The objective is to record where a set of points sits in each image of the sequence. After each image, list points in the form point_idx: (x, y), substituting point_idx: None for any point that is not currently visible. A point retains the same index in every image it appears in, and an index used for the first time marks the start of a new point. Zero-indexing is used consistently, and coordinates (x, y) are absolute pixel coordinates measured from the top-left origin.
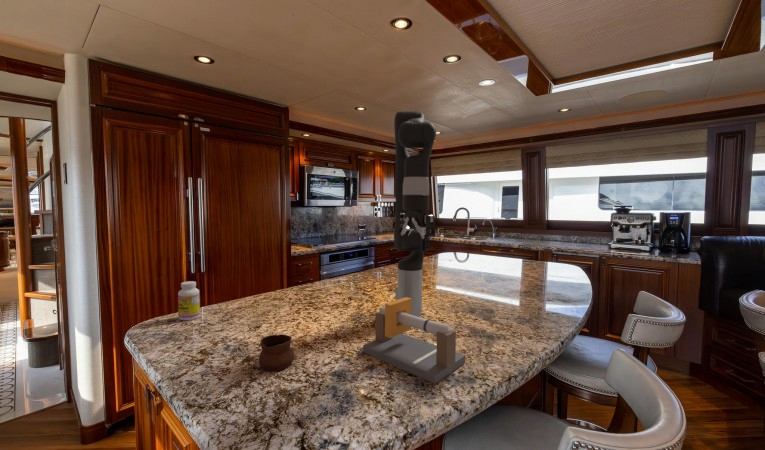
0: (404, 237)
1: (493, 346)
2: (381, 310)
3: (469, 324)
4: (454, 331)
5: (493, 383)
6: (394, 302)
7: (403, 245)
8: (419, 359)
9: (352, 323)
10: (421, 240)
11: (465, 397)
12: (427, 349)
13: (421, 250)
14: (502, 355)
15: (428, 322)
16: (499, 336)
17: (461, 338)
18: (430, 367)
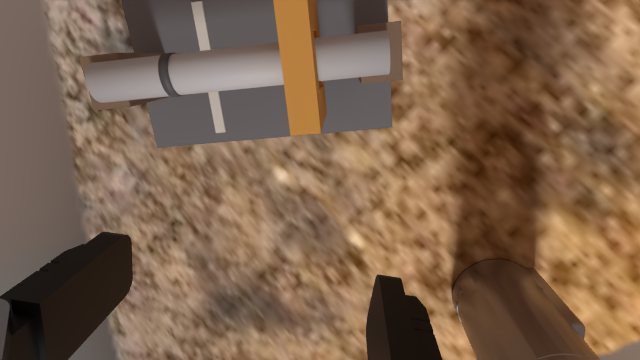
0: (386, 355)
1: (187, 265)
2: (379, 35)
3: (310, 337)
4: (93, 103)
5: (70, 111)
6: (293, 30)
7: (382, 285)
8: (203, 32)
9: (584, 95)
10: (48, 292)
11: (58, 12)
12: (238, 102)
13: (114, 236)
14: (145, 238)
15: (155, 65)
16: (215, 321)
17: (264, 250)
18: (158, 24)
